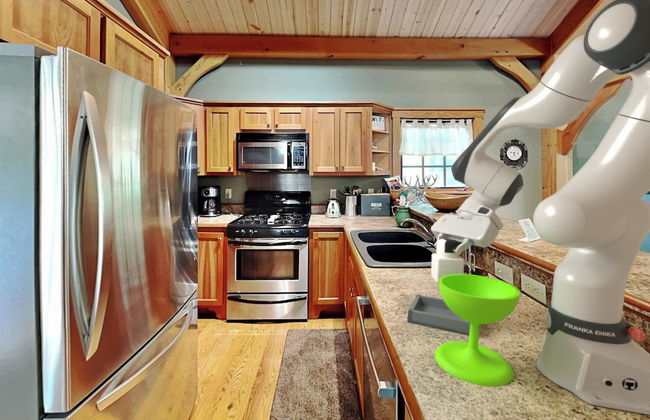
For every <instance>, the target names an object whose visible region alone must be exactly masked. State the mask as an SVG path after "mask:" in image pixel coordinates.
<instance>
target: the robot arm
mask: <svg viewBox="0 0 650 420" xmlns="http://www.w3.org/2000/svg"><path fill="white" fill-rule="evenodd" d="M626 74H628V75H629V76H630V77H631V79H632V88H631V91H630V93H629V94H628V96H627V99H626V100H625V102H624V104H623V105H622V107H621V108H620V109H619V111H618V114H617V115H616V116H615V118H614V120H613V122H612V124H610V127H609V128H608V130H607V132H606V133H605V135H604V136H603V138H602V139H601V142H600V143H599V145H598V146H597V148H596V149H595V151H594V152H593V154H592V155H591V156H590V157H589V159H588V160H587V161H586V162H585V163H584V164H583V166H581V168H579V170H578V171H577V172H576V173H575V174H574V175H573V176H572V177H571V178H570V179H569V180H568V181H567V182H566V183H565V184H564V185H562V187H561V188H560V189H559V190H558V191H555V193H553V194H552V195H550V196H548V197H546V198H545V199H542V200H541V202H539V203H538V205H537V206H536V207H535V209H534V212H533V217H532V221H533V223H532V224H533V227H534V229H535V232H536V234H537V235H538V236H539V237H540V238H541V239H542V240H543V241H545V242H547V243H548V244H550V245H551V244H552V245H555V246H560V247H565V248H568V251H567V253H566V255H565V257H564V258H563V260H562V261H561V262H560V263H558V264H557V266H556V267H555V270H554V272H553V282H552V293H551V301H550V303H549V304H548V306H547V307H548V309H547V312H546V323H545V326H546V330H547V331H546V337H545V340H544V344H543V347H542V350H541V352H540V354H539V357H538V359H537V360H536V367H537V369H538V370H539V372H540V373H542V374H543V375H544V376H545V377H546V378H548V380H550V381H551V382H553V383H555V384H556V385H558V386H560V387H562V388H564V389H566V390H568V391H570V392H572V393H573V394H574V395H575V396H576V397H578V398H579V399H581V400H582V401H584V402H585V403H586V404H587V403H588V404H590V405H593V406H598V407H603V408H608V409H615V410H621V411H626V412H632V413H638V414H643V415H648V416H650V353H649V352H648V351H647V350H645V349H644V348H643V347H642V346H641V345H639V343H637V342H644V340H646V338H647V337H646V333H644V331H642V330H641V329H640V328H638V327H636V326H634V325H633V324H632V323H631V322H629V321H628V320H627V319H624V318H623V316H622V315H623V310H624V309H623V308H624V301H625V293H626V286H627V282H628V279H629V275H630V273H631V270H632V267H633V265H634V263H635V261H636V259H637V255H638V254H639V251H640V249H641V246H642V244H643V243H644V240H645V238H646V237H647V236H648V235H649V234H650V203H649V202H648V201H647V200H645V199H643V197H644V196H645V195H647V194H648V193H649V192H650V0H613V1H612V2H610V3H608V4H607V5H606V6H604V7H603V8H602V9H601V10H600V11H599V12H598V13H597V14H596V15H595V16H594V17H593V19H592V20H591V22H590V23H589V25H588V26H587V29H586V31H585V33H584V34H581V35H579V36H578V37H576V38H574V40H572V41H571V42H570V43H569V44H568V45H567V47H565V48H564V49H563V51H562V52H561V53H560V54H559V56H558V57H556V59H555V60H554V62H552V63H551V65H550V66H549V68H548V69H547V70H546V71H545V73H544V75H543V76H542V78H540V81H539V82H538V83H537V85H536V86H535V87H534V88H533V89H532V90H531V91H529V92H528V93H527V94H525V95H523V96H522V97H521V96H520V97H514V98H512V99H511V100H510V101H508V102H507V103H506V104H505V105H504V106H503V107H501V109H500V110H499V111H498V112H497V114H495V115H494V116H493V118H492V119H491V120H490V122H488V123H487V125H486V126H484V128H483V129H482V130H481V132H480V133H479V134H478V135H477V136H476V137H475V138H474V140H472V142H471V143H469V145H468V146H467V148H465V149H464V150H463V151H462V152H461V153H460V154H459V155H457V156H456V158H455V160H454V161H453V163H452V166H451V175H452V177H453V179H454V181H457V182H459V183H461V184H463V185H465V186H468V187H470V188H471V189H473V190H472V193H471V195H470V196H468V197H467V198H466V199H465V200H464V202H463V203H462V204H461V205H460V206H459V207H458V208H457V210H456V212H449V213H445V214H443V215H441V216H440V217H439V218H438V219H437V220H436V221H435V222H434V223H433V225H432V226H431V227H430V230H431V232H432V234H433V235H434V236H435V237H437V238H436V241H435V243H434V244H433V245H434V248H435V249H437V241H438V240H440V239H453V240H456V241H458V242H459V246H455V247H454V249H453V252H454V253H455V254H458V256H460V255H462V253H463V252H464V251H466V250H469V248H471V246H476V247H481V248H484V249H486V248H487V247H490V246H491V245H492V244H493V242H494V241H495V240H496V239H497V237H498V235H499V232H500V231H501V230H502V229H503V227H504V223H503V222H502V220H501V219H500V217H499V216H498V215H497V213H496V211H497V210H498V209H499V208H500V207H504V206H507V205H509V204H511V203H512V202H513V200H514V198H515V196H516V195H517V194H518V193H519V192H520V191H521V190H522V189H523V187H524V185H525V184H524V178H523V176H522V173H521V172H520V171H518V170H516V169H514V168H513V167H511V166H509V165H507V164H504V163H503V162H501V161H499V160H496V159H495V158H494V157H490V156H489V155H487V153H486V150H487V149H488V147H489V146H490V145H491V144H492V143H493V142H494V141H495V140H496V139H497V138H498V137H499V135H501V134H502V132H504V131H505V130H507V129H511V128H512V129H513V128H528V129H537V130H538V129H540V130H542V129H543V130H544V129H545V130H547V129H548V130H549V129H556V128H562V127H563V126H566V125H568V124H569V125H570V124H571V123H573V122H574V121H576V119H577V118H579V116H580V115H581V114H582V113H583V112H584V111H585V110H586V109H587V107H589V105H590V104H591V103H592V102H593V101H594V99H595V98H596V97H597V96H598V95H599V93H600V92H601V90H602V89H604V87H605V86H606V85H607V84H608V83H609V82H610V81H611V80H612V79H614V78H616V77H618V76H620V75H623V76H624V75H626Z"/></svg>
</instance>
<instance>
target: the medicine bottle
mask: <svg viewBox="0 0 650 420" xmlns="http://www.w3.org/2000/svg"><path fill="white" fill-rule="evenodd" d="M436 242H437V248H436V251H435V253H432V254H431V271H430V276H431V277H432V279H433V280H434V281H435V283H436V284H439V279H440V278H441V277H443V276H446V275H452V274H464V270H465V267H464V266H465V260H464V259H463V258H462V257H460V255H458V254H455V253H454V252H453V249H454V247H455V246H459V245H460V242H458V241H456V240H453V239H440V240H438V241H437V240H436Z"/></svg>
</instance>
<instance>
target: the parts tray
mask: <svg viewBox="0 0 650 420" xmlns="http://www.w3.org/2000/svg"><path fill="white" fill-rule="evenodd" d="M407 323H410V324H413V325H418V326H419V325H420V326H423V327H428V328H433V329H438V330H442V331H445V332H450V333H451V332H452V333H456V334H460V335H465V336H469V332H470V322H469V321H466V320H464V319H462V318H460V317H459V316H457V315H456V314H455V313H454V312H452V311H451V310H450V309H449V308H448V306H447V305H446V303H445V302H444V301H443V298H439V297H434V296H427V295H422V294H421V295H420V294H416V295H415V297H414V299H413V300H412V303H411V304H410V306H409V308H408V310H407Z"/></svg>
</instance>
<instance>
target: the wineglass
mask: <svg viewBox="0 0 650 420" xmlns="http://www.w3.org/2000/svg"><path fill="white" fill-rule="evenodd" d="M438 289H439V292H440V295H441V297H442V298H441V299H443V301H444V302H445V303H446V305H447V306H448V308H449V309H450V310H451V311H452V312H454V313H455V314H456V315H457V316H459V317H460V318H462V319H464V320H466V321H469V322H470V332H469V335H468V341H462V340H461V341H458V340H457V341H448V342H445V343H442V344H441V345H439V346H438V347H437V348H436V350H435V352H434V360H435V361H436V363H437V365H438V366H439V367H440V368H442V370H443V371H444V372H446V373H448V374H449V375H451V376H452V377H453V378H456V379H458V380H461V381H462V382H466V383H469V384H471V385H477V386H482V387H483V386H484V387H501V386H505V385H508V384H509V383H511V382H512V380H513V379H514V377H515V376H514V370H513V368H512V365H511V364H510V362H509V361H508V360H507V359H506V358H504V356H502V355H501V354H499V353H498V352H497V351H495V350H493V349H491V348H489V347H487V346H483V345H481V344H479V337H480V326H481V325H490V324H494V323H497V322H500V321H503V320H504V319H506V318H507V317H508V316H509V315H511V314H512V313H513V312H514V311H515V308H516V307H517V306H518V304H519V301H520V297H521V290H520V289H518V288H517V287H516V286H514V285H512V284H511V283H509V282H507V281H504V280H500V279H497V278H493V277H489V276H483V275H476V274H469V273H468V274H467V273H463V274H452V275H446V276H443V277H441V278H440V279H439V283H438Z"/></svg>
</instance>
